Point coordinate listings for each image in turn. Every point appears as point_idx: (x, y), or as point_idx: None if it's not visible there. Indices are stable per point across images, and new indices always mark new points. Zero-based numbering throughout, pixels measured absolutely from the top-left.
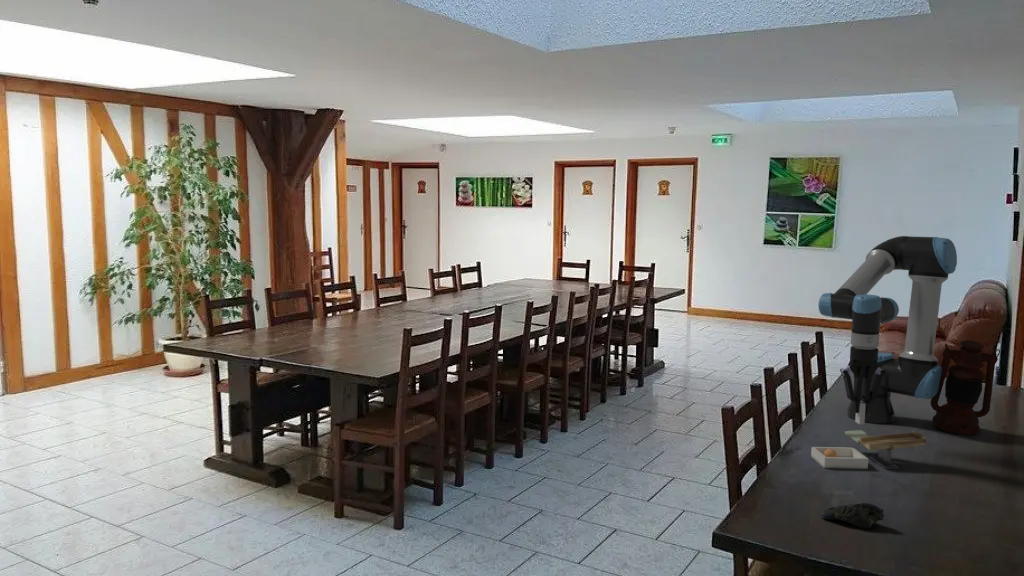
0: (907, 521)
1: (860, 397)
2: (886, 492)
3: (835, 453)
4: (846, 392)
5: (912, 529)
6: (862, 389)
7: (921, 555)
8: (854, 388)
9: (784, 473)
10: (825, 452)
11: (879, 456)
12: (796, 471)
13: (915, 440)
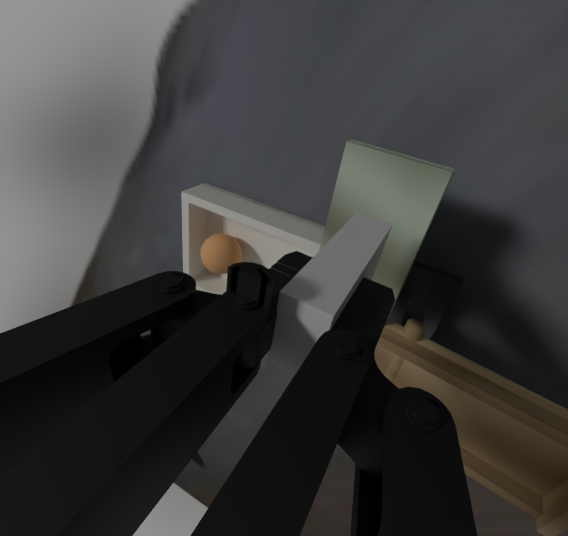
0: (228, 463)
1: (229, 401)
2: (262, 411)
3: (223, 273)
4: (93, 303)
5: (221, 472)
6: (243, 458)
7: (197, 489)
8: (109, 408)
9: (119, 261)
10: (200, 253)
11: (405, 305)
12: (142, 261)
13: (488, 487)
